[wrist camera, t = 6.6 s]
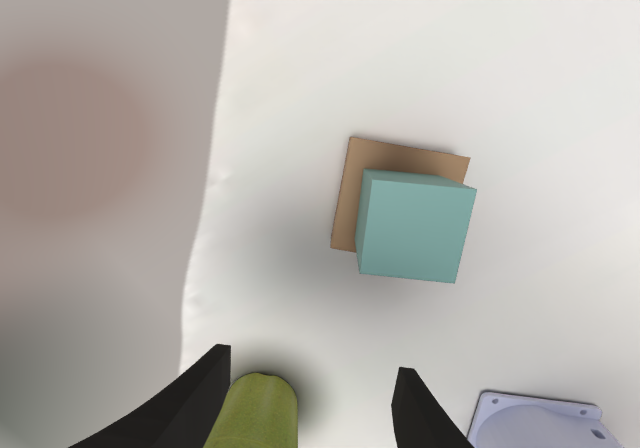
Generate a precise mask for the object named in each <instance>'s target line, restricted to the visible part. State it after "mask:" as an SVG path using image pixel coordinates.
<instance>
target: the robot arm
mask: <svg viewBox="0 0 640 448" xmlns="http://www.w3.org/2000/svg"><path fill="white" fill-rule="evenodd" d="M230 365H231V346H230V345H222V344H216V345H215V346H213V347H212V348H211V349H210V350H209V351H208V352H207V353H206V354H205V355H203V356H202V357H201V358H200V359H199V360H198V361H197V362H196V363H195V364H193V365H192V366H191V367H190V368H189V369H188V370H186V371H185V372H184V373H183V374H182V375H180V376H179V377H178V378H177V379H176V380H174V381H173V382H172V383H171V384H169V385H168V386H167V387H166V388H164V389H163V390H162V391H161V392H159V393H158V394H156V395H155V396H154V397H153V398H151V399H150V400H148V401H147V402H145V403H144V404H143V405H141V406H140V407H138V408H137V409H135V410H134V411H132V412H131V413H129V414H128V415H126V416H124V417H123V418H121V419H119V420H118V421H116V422H114V423H113V424H111V425H109V426H107V427H106V428H104V429H102V430H101V431H99V432H97V433H95V434H93V435H92V436H90V437H88V438H86V439H84V440H82V441H80V442H78V443H76V444H74V445H73V446H70V447H68V448H203V447H204V445H205V443H206V441H207V439H208V437H209V435H210V432H211V430H212V428H213V426H214V424H215V422H216V420H217V418H218V416H219V413H220V411H221V409H222V406H223V403H224V401H225V398H226V395H227V392H228V389H229V386H230ZM493 399H494V400H493ZM391 408H392V417H393V426H394V433H395V438H396V442H397V447H398V448H624V447H623V446H622V445H621V444H620V443H619V442H618V440H617V439H616V438H615V437H614V436H613V435H612V434H611V433H610V432H609V431H608V430H607V428H606V427H605V426H604V425H603V424H602V423H601V422H600V421H599V419H600V417H601V415H602V411H601V410H600V409H599V408H598V407H597V406H594V405H586V404H578V403H571V402H563V401H555V400H547V399H539V398H531V397H523V396H515V395H507V394H499V393H491V392H485V393H483V394H482V395H481V397H480V400H479V403H478V407H477V410H476V413H475V416H474V419H473V422H472V426H471V429H470V432H469V435H468V438H466V437H465V436H464V435H463V434H462V432H461V431H460V430H459V429H458V428H457V426H456V425H455V424H454V423H453V421H452V420H451V419H450V418H449V416H448V415H447V414H446V412H445V411H444V410H443V408H442V407H441V406H440V405H439V403H438V402H437V400H436V399H435V398H434V396H433V395H432V394H431V392H430V391H429V389H428V388H427V386H426V385H425V384H424V382H423V381H422V379H421V378H420V376H419V375H418V374H417V372H416V371H415V369H412V368H404V367H399V371H398V376H397V380H396V385H395V390H394V394H393V399H392V404H391Z"/></svg>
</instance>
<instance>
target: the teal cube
mask: <svg viewBox="0 0 640 448" xmlns="http://www.w3.org/2000/svg"><path fill="white" fill-rule="evenodd" d="M476 192H477V189H474V188H471V187H469V186H466V185H464V184H461V183H458V182H456V181H453V180H450V179H448V178H445V177H442V176H440V175H429V174H418V173H408V172H397V171H386V170H375V169H365V168H363V176H362V184H361V192H360V200H359V208H358V216H357V224H356V232H355V245H356V252H357V259H358V265H359V272H360V274H369V275H379V276H388V277H398V278H407V279H417V280H426V281H436V282H445V283H455V280H456V276H457V272H458V267H459V263H460V259H461V255H462V251H463V246H464V242H465V238H466V234H467V229H468V225H469V221H470V217H471V213H472V208H473V204H474V200H475V196H476Z"/></svg>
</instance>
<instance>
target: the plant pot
mask: <svg viewBox="0 0 640 448" xmlns="http://www.w3.org/2000/svg"><path fill="white" fill-rule="evenodd" d="M203 448H298V411H297V398H296V395H295V392H294V390H293V389H292V387H291V386H290V385H289V384H288V383H287V382H286V381H284V380H283V379H281V378H280V377H277V376H267V375H262V374H260V373H251V374H247V375H245V376H243V377H241V378H239V379H238V380H237V381H236V382H235V383H234V384H233V385H232V387H231V388H230V390H229V392H228V393H227V395H226V398H225V401H224V403H223V406H222V409H221V411H220V413H219V416H218V418H217V420H216V422H215V424H214V426H213V428H212V430H211V432H210V435H209V437H208V439H207V441H206V443H205V445H204V447H203Z"/></svg>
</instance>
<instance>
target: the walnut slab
mask: <svg viewBox="0 0 640 448" xmlns="http://www.w3.org/2000/svg"><path fill="white" fill-rule="evenodd" d="M469 161H470V158H469V157H463V156H458V155H452V154H446V153H440V152H435V151H429V150H423V149H417V148H412V147H406V146H400V145H394V144H389V143H383V142H377V141H371V140H366V139H360V138H354V137H350V139H349V144H348V149H347V155H346V160H345V165H344V171H343V176H342V181H341V187H340V192H339V197H338V203H337V208H336V213H335V219H334V224H333V229H332V235H331V247H330V248H333V249H339V250H345V251H350V252H356V245H355V232H356V224H357V216H358V208H359V200H360V192H361V184H362V176H363V168H365V169H375V170H386V171H397V172H408V173H418V174H429V175H440V176H442V177H445V178H448V179H450V180H453V181H456V182H458V183H461V184H463V181H464V178H465V174H466V171H467V168H468V164H469ZM356 253H357V252H356Z"/></svg>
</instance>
